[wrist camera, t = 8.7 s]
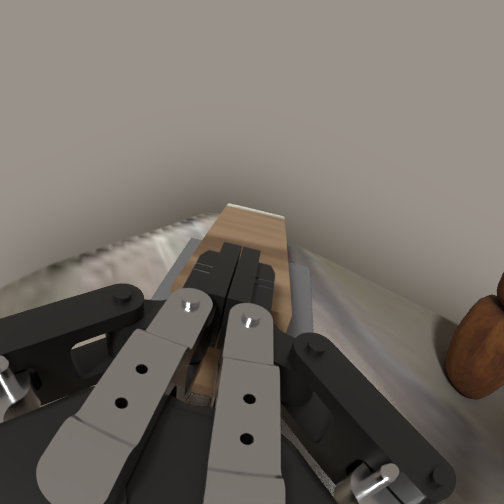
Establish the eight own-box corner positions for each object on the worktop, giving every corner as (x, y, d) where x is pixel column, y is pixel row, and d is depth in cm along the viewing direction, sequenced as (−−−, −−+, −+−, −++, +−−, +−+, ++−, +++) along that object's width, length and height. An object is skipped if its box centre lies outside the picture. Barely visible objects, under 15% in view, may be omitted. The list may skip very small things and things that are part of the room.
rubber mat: (313, 391, 18) (315, 389, 18) (125, 343, 18) (125, 340, 18) (308, 269, 31) (309, 267, 31) (191, 240, 31) (191, 237, 31)
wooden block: (292, 315, 12) (284, 216, 27) (171, 285, 12) (228, 203, 27) (262, 396, 14) (270, 267, 29) (162, 372, 14) (217, 255, 29)
